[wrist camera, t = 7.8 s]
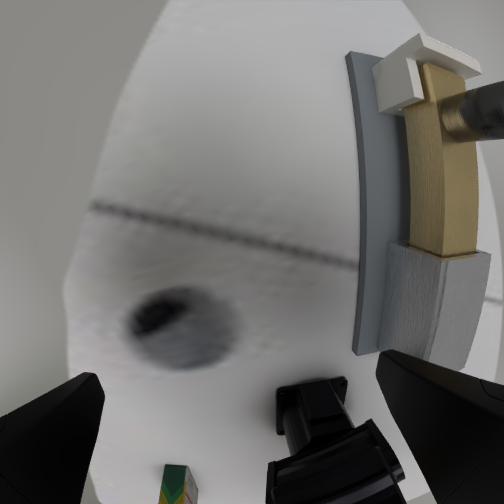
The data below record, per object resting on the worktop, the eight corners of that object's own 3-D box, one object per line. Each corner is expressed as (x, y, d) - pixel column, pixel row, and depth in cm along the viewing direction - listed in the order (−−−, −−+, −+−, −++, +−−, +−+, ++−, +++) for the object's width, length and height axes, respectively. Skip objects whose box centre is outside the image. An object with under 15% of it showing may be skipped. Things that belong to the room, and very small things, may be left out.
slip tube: (441, 267, 18) (522, 306, 9) (407, 273, 17) (493, 321, 9) (433, 88, 14) (513, 61, 6) (397, 78, 14) (480, 36, 6)
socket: (435, 123, 17) (491, 111, 10) (379, 112, 16) (434, 88, 10) (427, 82, 16) (478, 61, 10) (371, 67, 15) (419, 32, 9)
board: (430, 330, 22) (436, 334, 21) (352, 350, 21) (356, 356, 20) (431, 77, 17) (437, 74, 16) (345, 56, 16) (350, 51, 15)
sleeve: (423, 334, 21) (463, 367, 15) (376, 347, 20) (413, 389, 14) (437, 237, 19) (491, 254, 13) (387, 241, 18) (441, 261, 12)
